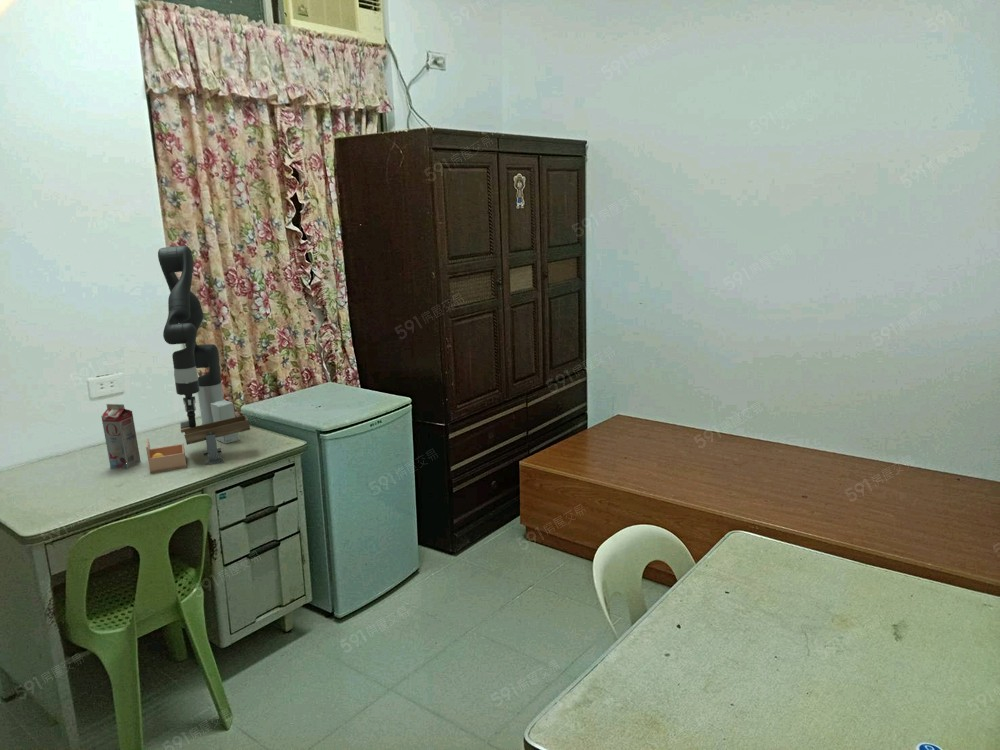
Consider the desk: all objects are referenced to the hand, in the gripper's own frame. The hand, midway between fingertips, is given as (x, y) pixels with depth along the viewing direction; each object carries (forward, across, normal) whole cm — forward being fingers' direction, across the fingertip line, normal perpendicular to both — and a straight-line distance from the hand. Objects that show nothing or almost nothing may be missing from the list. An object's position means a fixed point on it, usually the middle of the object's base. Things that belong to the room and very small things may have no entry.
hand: (192, 423), depth 250 cm
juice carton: (+11, 0, -23) cm, 26 cm away
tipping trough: (+3, +4, +7) cm, 9 cm away
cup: (+11, +8, -9) cm, 17 cm away
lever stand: (+11, +8, +5) cm, 15 cm away
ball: (+8, +8, -12) cm, 17 cm away
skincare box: (+11, -10, +11) cm, 18 cm away
